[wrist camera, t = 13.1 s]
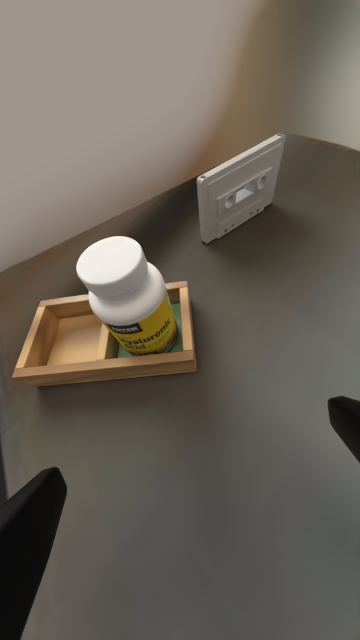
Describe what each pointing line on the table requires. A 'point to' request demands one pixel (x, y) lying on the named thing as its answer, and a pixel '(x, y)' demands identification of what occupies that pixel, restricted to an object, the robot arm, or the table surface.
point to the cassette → (223, 181)
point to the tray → (97, 345)
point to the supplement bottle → (128, 295)
